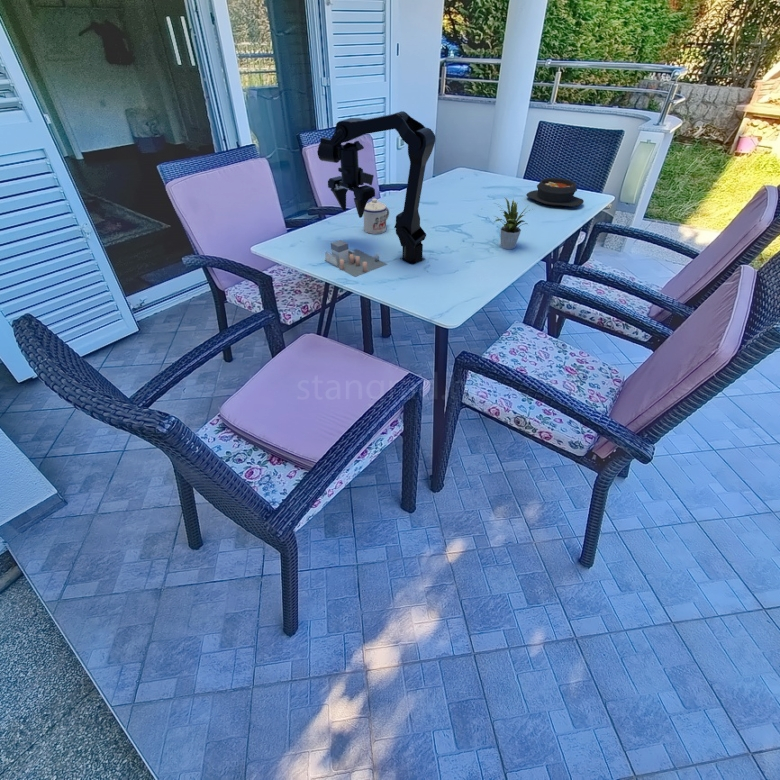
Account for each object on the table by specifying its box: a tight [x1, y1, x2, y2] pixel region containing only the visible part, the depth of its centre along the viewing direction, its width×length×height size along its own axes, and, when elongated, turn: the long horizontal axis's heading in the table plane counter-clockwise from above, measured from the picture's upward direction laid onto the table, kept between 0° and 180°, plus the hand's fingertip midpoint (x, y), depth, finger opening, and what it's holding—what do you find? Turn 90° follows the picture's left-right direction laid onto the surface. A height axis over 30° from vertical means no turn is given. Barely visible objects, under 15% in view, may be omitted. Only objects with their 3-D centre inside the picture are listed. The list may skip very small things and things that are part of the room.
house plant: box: [493, 197, 534, 250], centre depth 157 cm, size 14×14×16 cm
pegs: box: [339, 254, 380, 273], centre depth 147 cm, size 9×14×3 cm, turn 132°
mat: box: [324, 248, 388, 278], centre depth 150 cm, size 17×14×1 cm
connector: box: [330, 239, 349, 264], centre depth 149 cm, size 4×4×6 cm
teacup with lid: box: [363, 198, 390, 235], centre depth 171 cm, size 12×9×12 cm
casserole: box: [526, 177, 584, 207], centre depth 196 cm, size 25×19×8 cm
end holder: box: [324, 248, 355, 268], centre depth 150 cm, size 7×8×3 cm
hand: (352, 213), depth 153 cm, fingers open, 9 cm apart
